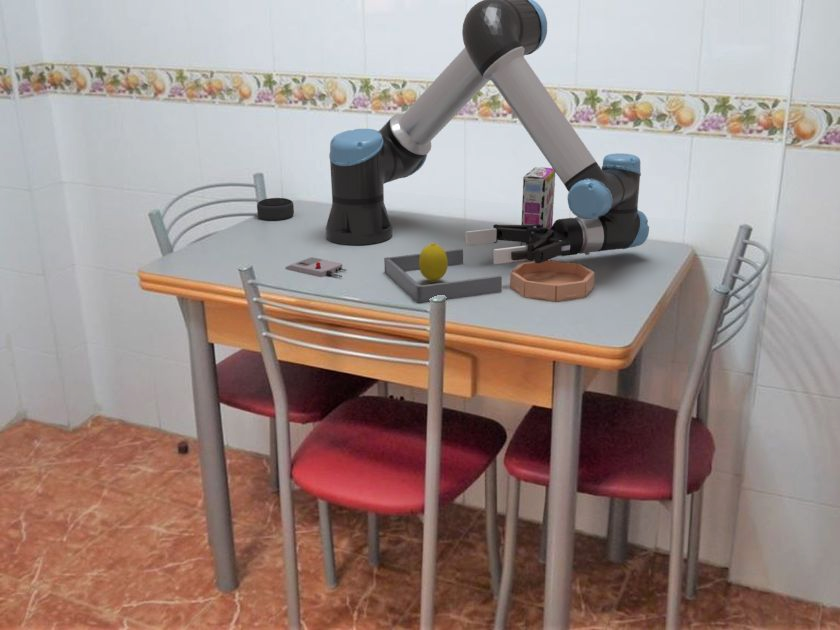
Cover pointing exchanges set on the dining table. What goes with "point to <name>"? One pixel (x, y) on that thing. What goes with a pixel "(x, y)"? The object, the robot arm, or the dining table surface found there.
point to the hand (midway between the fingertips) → (479, 247)
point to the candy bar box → (538, 198)
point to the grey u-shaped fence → (449, 289)
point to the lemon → (433, 262)
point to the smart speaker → (275, 209)
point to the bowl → (552, 280)
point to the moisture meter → (317, 267)
